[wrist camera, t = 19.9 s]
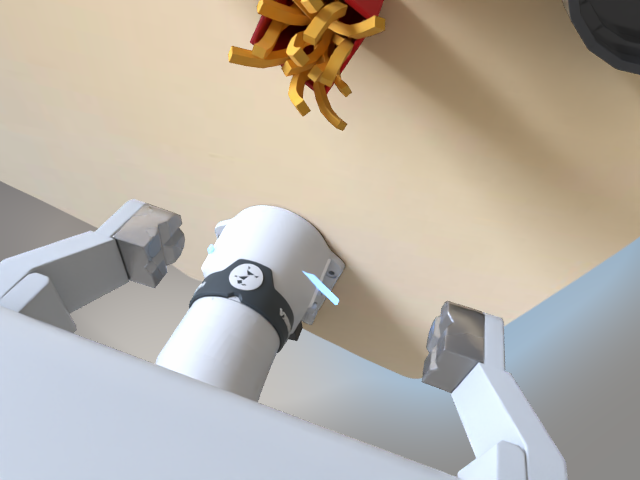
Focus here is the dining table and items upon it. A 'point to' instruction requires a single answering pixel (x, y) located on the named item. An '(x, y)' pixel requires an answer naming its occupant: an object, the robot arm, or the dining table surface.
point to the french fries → (311, 44)
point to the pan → (609, 30)
